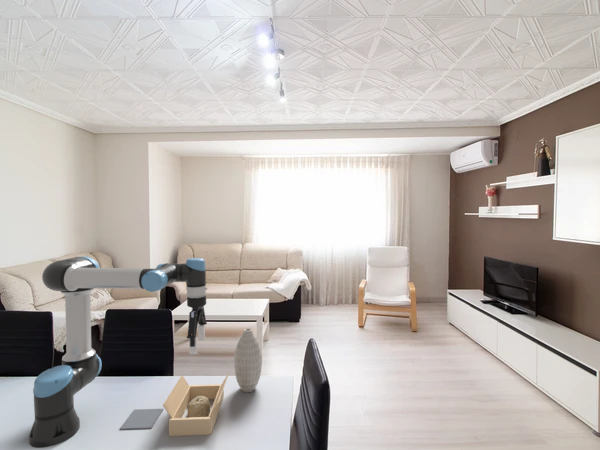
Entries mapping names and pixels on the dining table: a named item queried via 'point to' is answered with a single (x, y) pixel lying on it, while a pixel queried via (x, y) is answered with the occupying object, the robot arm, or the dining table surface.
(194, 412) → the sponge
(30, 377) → the dining table surface
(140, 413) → the mat
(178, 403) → the carton
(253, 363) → the vase
